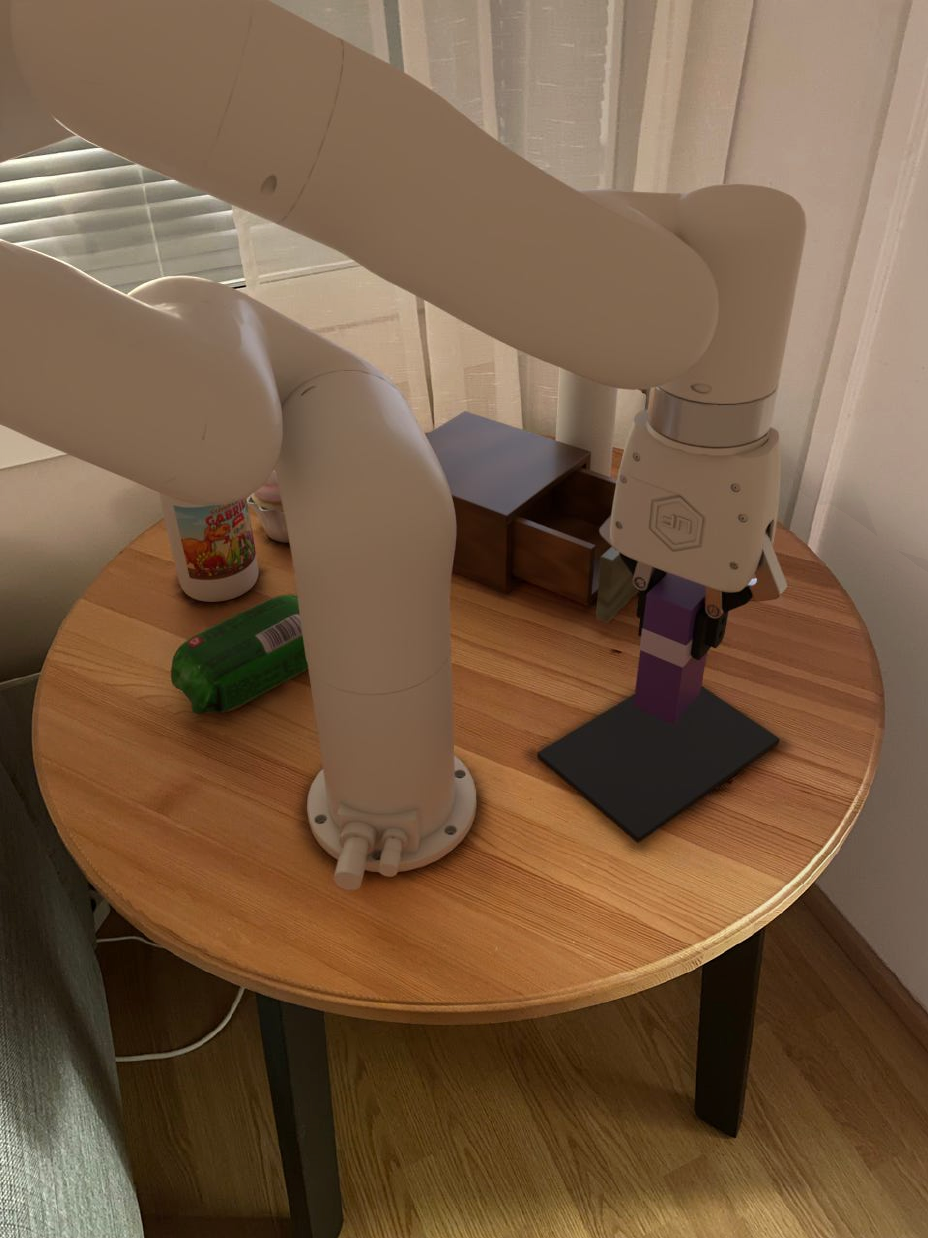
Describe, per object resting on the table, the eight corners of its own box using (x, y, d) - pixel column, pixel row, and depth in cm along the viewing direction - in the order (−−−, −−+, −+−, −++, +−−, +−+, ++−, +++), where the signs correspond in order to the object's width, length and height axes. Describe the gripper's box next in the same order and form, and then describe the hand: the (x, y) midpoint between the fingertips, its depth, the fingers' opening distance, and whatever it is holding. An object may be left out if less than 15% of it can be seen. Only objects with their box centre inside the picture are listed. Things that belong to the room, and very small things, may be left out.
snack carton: (660, 675, 78) (676, 563, 72) (701, 692, 77) (720, 580, 70) (632, 707, 75) (645, 593, 69) (673, 725, 74) (691, 611, 67)
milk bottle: (166, 598, 97) (119, 408, 84) (201, 554, 102) (162, 370, 90) (240, 609, 95) (204, 416, 83) (271, 564, 101) (242, 377, 89)
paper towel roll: (595, 515, 107) (610, 321, 94) (543, 502, 110) (551, 310, 96) (620, 485, 112) (638, 296, 99) (571, 472, 114) (582, 286, 101)
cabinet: (586, 525, 106) (591, 451, 100) (505, 594, 96) (506, 515, 91) (466, 481, 113) (464, 410, 108) (380, 541, 104) (374, 466, 99)
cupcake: (244, 554, 102) (229, 468, 96) (256, 506, 110) (242, 423, 104) (336, 552, 102) (326, 465, 96) (342, 503, 110) (333, 420, 104)
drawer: (718, 569, 97) (728, 509, 93) (650, 641, 89) (659, 578, 85) (552, 509, 107) (555, 451, 102) (476, 569, 98) (476, 509, 94)
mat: (638, 843, 72) (638, 838, 72) (536, 757, 79) (537, 752, 79) (779, 744, 80) (780, 738, 80) (675, 673, 87) (676, 668, 87)
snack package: (359, 654, 90) (355, 607, 87) (204, 736, 82) (193, 688, 78) (314, 618, 94) (308, 572, 91) (163, 693, 86) (150, 646, 83)
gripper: (562, 394, 63) (553, 624, 74) (818, 469, 55) (764, 713, 66) (622, 354, 68) (605, 575, 79) (866, 417, 60) (808, 653, 71)
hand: (678, 636), depth 73 cm, fingers closed on snack carton, 3 cm apart
